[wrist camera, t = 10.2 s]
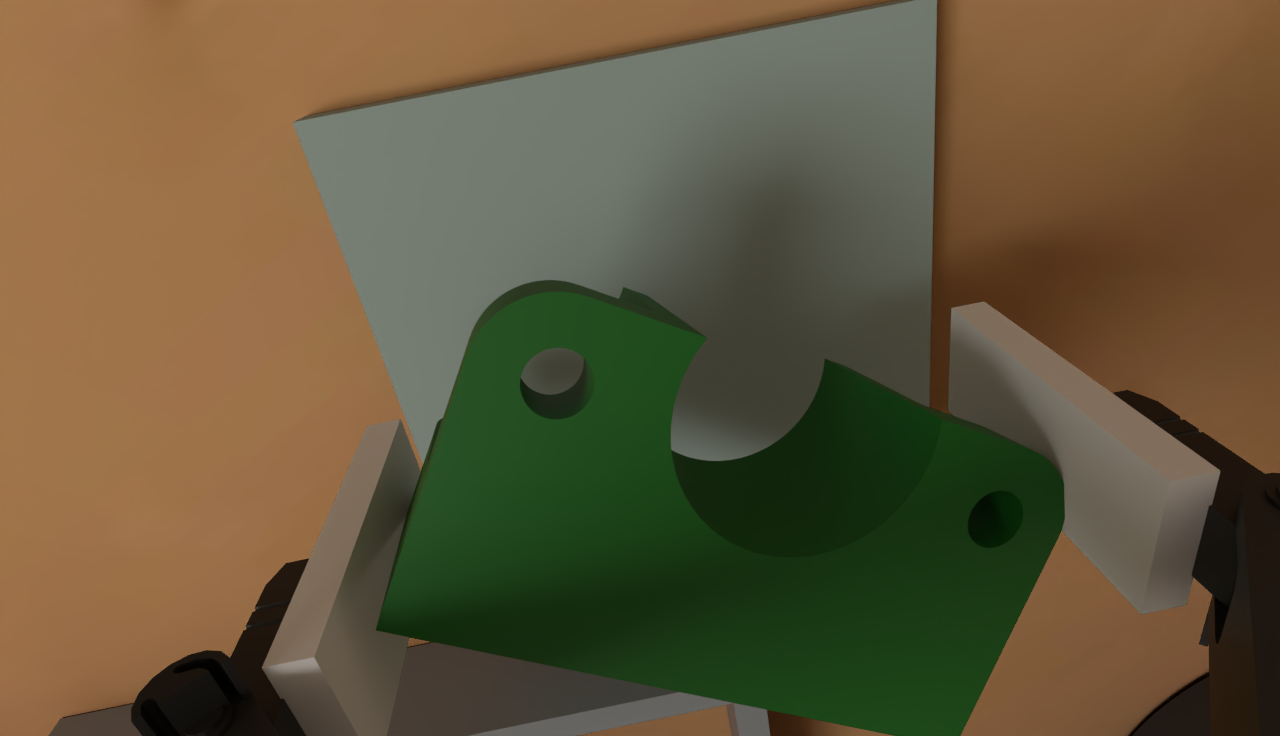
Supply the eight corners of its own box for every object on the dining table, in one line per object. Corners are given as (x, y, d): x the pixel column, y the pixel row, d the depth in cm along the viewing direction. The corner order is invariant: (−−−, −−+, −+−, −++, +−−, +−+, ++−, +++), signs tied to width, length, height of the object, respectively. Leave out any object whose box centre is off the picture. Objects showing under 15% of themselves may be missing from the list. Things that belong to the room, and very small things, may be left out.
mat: (918, -5, 18) (937, -4, 17) (914, 488, 24) (927, 506, 24) (306, 115, 17) (292, 122, 16) (477, 577, 24) (474, 599, 23)
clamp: (798, 338, 21) (1126, 478, 14) (724, 520, 22) (996, 735, 15) (402, 209, 14) (674, 369, 7) (317, 489, 15) (479, 880, 8)
